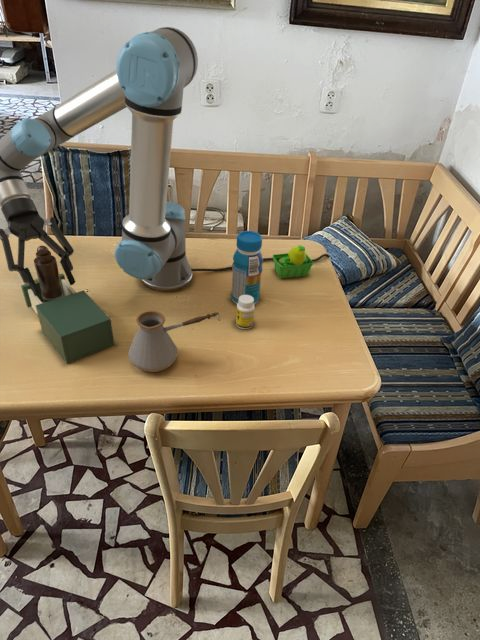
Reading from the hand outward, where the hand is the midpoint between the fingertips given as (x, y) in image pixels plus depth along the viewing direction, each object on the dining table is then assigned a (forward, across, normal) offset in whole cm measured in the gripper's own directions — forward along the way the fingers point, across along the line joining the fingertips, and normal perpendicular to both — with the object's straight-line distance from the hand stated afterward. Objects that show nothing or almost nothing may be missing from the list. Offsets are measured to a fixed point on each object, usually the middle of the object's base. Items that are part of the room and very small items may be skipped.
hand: (55, 288), depth 120 cm
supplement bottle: (+27, -38, +13) cm, 48 cm away
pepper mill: (+3, 0, -8) cm, 8 cm away
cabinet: (+13, 0, 0) cm, 13 cm away
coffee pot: (+28, -15, +15) cm, 35 cm away
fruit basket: (+18, -67, +4) cm, 70 cm away
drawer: (+3, 0, -9) cm, 10 cm away
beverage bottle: (+20, -46, +6) cm, 51 cm away
